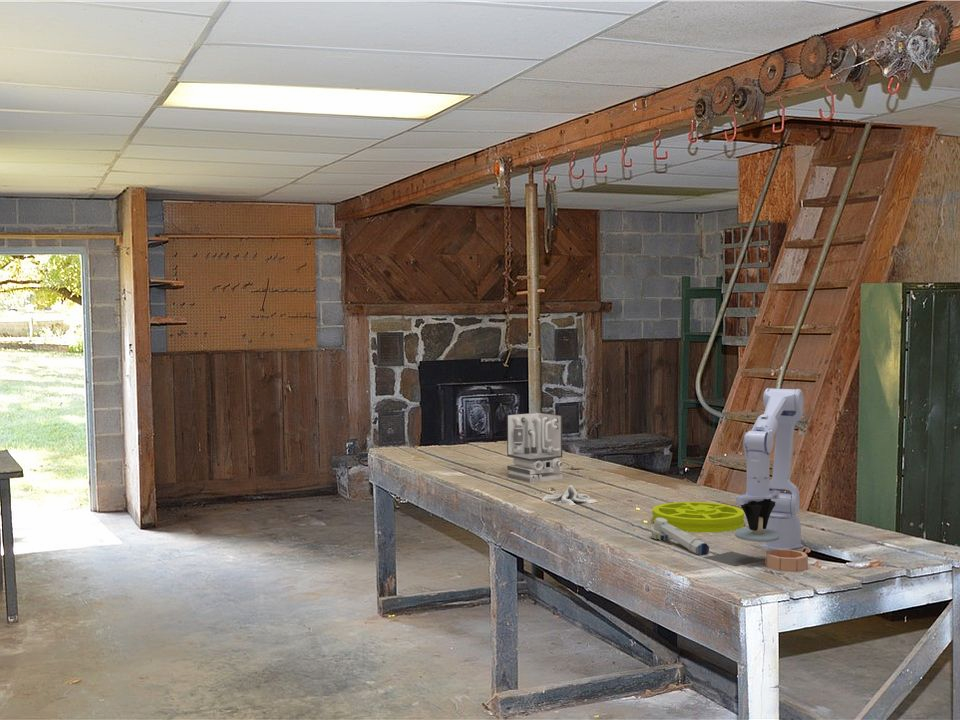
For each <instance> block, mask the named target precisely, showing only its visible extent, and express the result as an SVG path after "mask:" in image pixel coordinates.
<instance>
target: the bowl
mask: <svg viewBox="0 0 960 720" xmlns="http://www.w3.org/2000/svg"><path fill="white" fill-rule="evenodd" d="M764 554H765V555H764V563H765V567H766V568H767V569H771V570H774V571H778V572H779V571H780V572H800V571H805V570H808V569H809V568H808V566H809V565H808V562H809V561H808V560H809V559H808V558H809V557H808V554H807V552H804V551H801V550H800V551H799V550H795V549H769V550H765V551H764Z"/></svg>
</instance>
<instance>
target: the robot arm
mask: <svg viewBox="0 0 960 720" xmlns="http://www.w3.org/2000/svg"><path fill="white" fill-rule="evenodd" d="M762 397H763V398H762V403H763V404H762V405H763V407H764V408H765V410H764V412H763V414H759V416H757V419H755V420H756V421H755V422H754V424H753V426H752V428H751V430H747V432H744V436H743V443H742V444H743V445H742V447H743V451H744V459H745V460H746V492H745V493H742V494H740V495H736V496H735V504H736V505H739V506H740V507H741V509H742V510H743V511H744V516H745V517H746V521H747V525H748V528H749V529H750V530H754V531H757V529H758V520H759V517H763V529H770V530H773V531H776V532H778V533H779V539H778V540H776V541H771V542H762V543H759V545H758V546H759V547H764V548H767V549H770V550H773V549H792V550H795V549H799V548H803V547H804V544H802V523H801V520H800V518H799V517H798V516H797V515H798V513H799V511H800V508H801V507H800V505H801V502H800V501H801V498H800V490H799V488H798V486H797V485H796V484H795V483H793V482H792V481H791V472H792V471H791V469H792V461H793V460H792V459H793V448H794V447H793V446H794V436H795V434H794V433H795V427H796V423H797V422H799V421H801V420H802V418H803V417H802V416H803V415H804V413H803V412H804V392H803V391H802V390H801V388H797V389H794V388H771V387H767V388H766V389H765V390H764V391H763V396H762ZM774 436H775V438H774ZM774 439H775V441H774ZM774 442H775V444H774ZM773 445H774V454H773V457H774V458H773V465H772V476H771V479H770V460H771V458H770V454H771V453H772V451H773Z"/></svg>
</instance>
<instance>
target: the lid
mask: <svg viewBox="0 0 960 720" xmlns="http://www.w3.org/2000/svg"><path fill="white" fill-rule="evenodd" d="M734 531H735V532H734V534H735V535H734V536H735V537H736V538H737V539H740V540H744V541H747V542H754V543H756V542H757V543H766V542H771V541H776V540H778V539H779V533H778V532H776V531H773V530H770V529H763V517H759V520H758V529H757V531H754V530H750V529H749V527H742V528H740V529H737V530H734Z"/></svg>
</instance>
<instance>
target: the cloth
mask: <svg viewBox="0 0 960 720" xmlns="http://www.w3.org/2000/svg"><path fill="white" fill-rule="evenodd" d="M589 498H591V496H590V495H588V494H586V493H578V492H577V491H576V489H575V488H574V486H573V485H572V484H571V485H568V486H567V488H566V490H565V491H563V492H562V493H561V494H559V493H556V494H555V493H554V494H547V495H545V496H543V497H542V499H541V501H542V500H543V501H542V502H550V503H551V504H552V503H554V504H556V503H557V502H559V501H561V503H562V504H569V505H576V506H577V503H574V502H579V503H578V504H582V503H594V502H598V500H596V499H594V498H591V499H589ZM545 500H547V501H545ZM549 500H550V501H549ZM554 504H553V505H554ZM594 504H595V503H594Z"/></svg>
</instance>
